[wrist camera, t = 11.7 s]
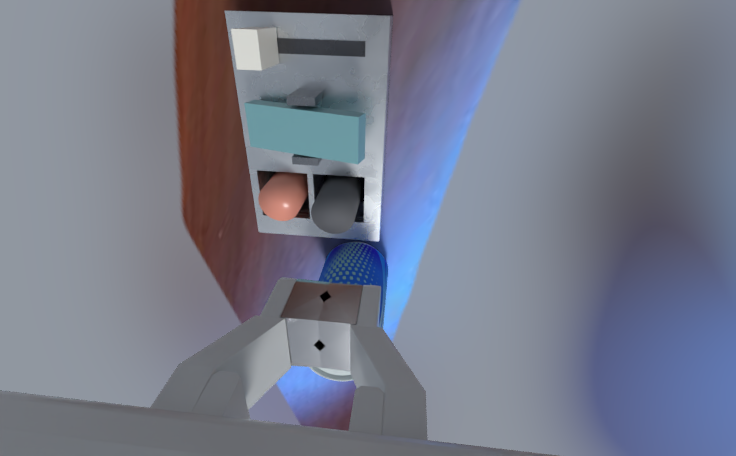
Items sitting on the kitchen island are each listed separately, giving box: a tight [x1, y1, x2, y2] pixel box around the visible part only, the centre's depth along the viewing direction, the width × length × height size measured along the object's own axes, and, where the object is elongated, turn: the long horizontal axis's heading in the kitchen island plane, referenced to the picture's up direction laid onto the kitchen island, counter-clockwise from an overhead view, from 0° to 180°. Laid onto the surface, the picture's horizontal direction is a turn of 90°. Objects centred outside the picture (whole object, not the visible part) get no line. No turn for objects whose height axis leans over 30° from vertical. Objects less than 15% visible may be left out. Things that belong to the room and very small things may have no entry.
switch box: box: [225, 11, 393, 241], centre depth 36 cm, size 22×14×8 cm, turn 178°
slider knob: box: [231, 27, 279, 71], centre depth 29 cm, size 3×2×4 cm
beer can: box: [310, 242, 388, 381], centre depth 42 cm, size 8×8×16 cm
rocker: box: [244, 100, 366, 164], centre depth 32 cm, size 4×11×2 cm, turn 88°
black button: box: [311, 175, 362, 234], centre depth 38 cm, size 4×4×6 cm
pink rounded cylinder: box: [258, 172, 309, 221], centre depth 40 cm, size 4×4×6 cm
